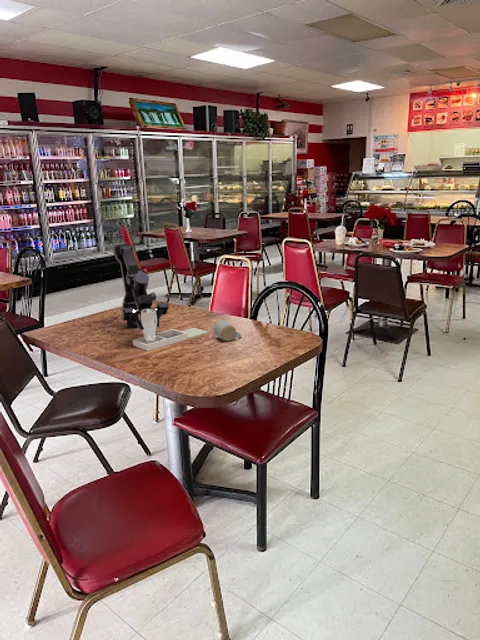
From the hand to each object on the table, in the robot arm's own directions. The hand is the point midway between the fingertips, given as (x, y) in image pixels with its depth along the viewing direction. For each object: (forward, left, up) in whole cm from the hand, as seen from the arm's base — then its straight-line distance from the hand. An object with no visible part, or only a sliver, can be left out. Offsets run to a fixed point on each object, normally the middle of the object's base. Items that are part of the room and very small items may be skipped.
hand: (150, 328), depth 197 cm
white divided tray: (-10, +5, -8) cm, 13 cm away
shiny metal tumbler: (-1, -1, -8) cm, 8 cm away
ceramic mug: (-14, +29, -8) cm, 33 cm away
